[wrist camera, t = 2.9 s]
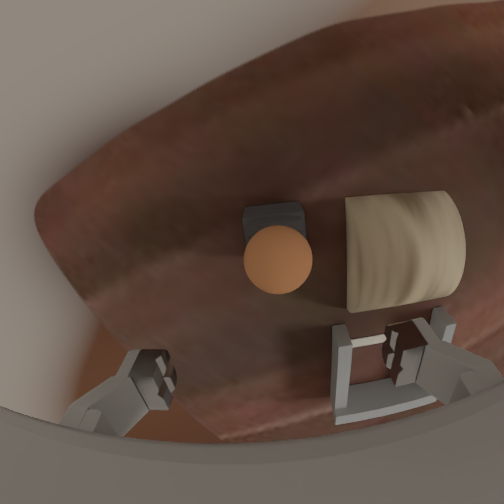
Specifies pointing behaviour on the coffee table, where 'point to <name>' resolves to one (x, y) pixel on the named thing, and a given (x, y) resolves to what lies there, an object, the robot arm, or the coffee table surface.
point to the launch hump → (402, 249)
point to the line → (368, 340)
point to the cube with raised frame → (273, 218)
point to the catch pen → (381, 391)
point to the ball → (278, 259)
